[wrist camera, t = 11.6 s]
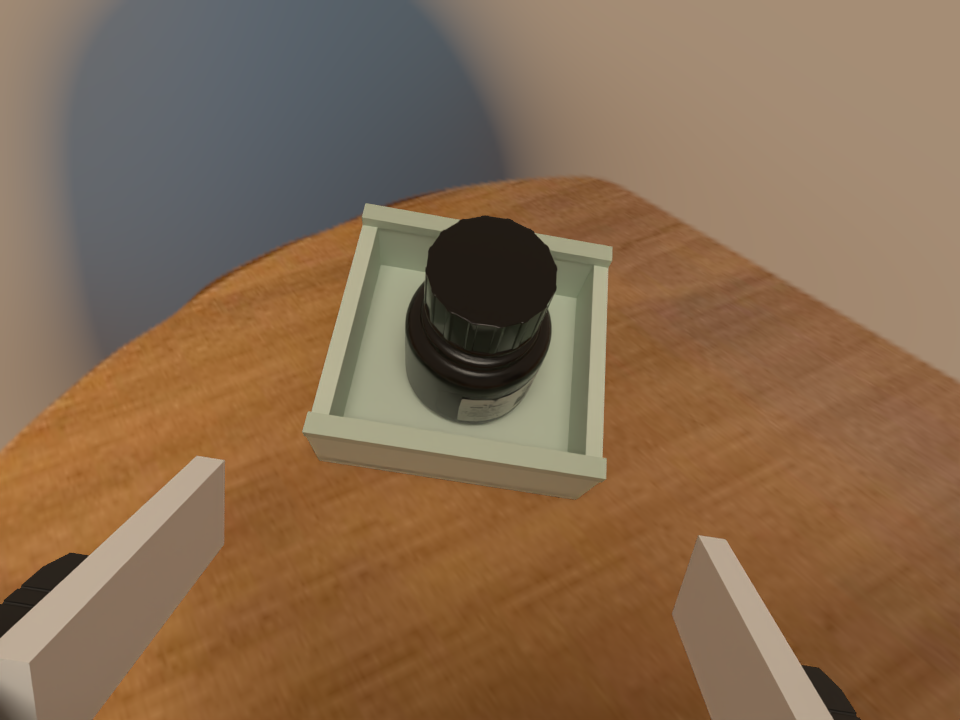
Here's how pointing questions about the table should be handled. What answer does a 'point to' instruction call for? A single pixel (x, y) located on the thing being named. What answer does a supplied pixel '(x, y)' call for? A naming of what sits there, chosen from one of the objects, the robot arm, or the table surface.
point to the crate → (430, 437)
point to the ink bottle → (480, 319)
